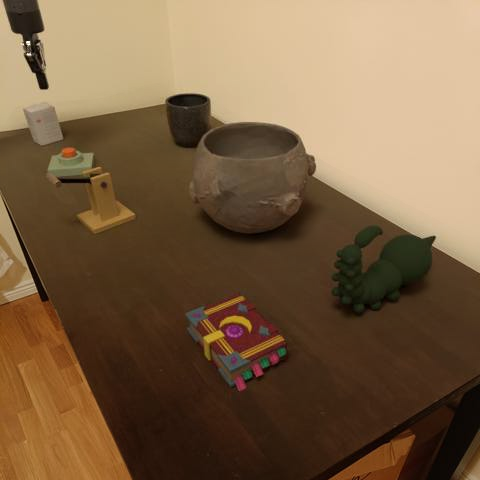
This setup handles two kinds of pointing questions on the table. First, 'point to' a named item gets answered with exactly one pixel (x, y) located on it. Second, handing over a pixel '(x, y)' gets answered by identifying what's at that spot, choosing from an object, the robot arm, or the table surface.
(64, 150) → the button
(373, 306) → the toy figurine
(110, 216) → the wooden lever stand
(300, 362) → the table surface
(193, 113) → the planter
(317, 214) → the table surface
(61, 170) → the switch block
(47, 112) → the small box
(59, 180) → the switch lever
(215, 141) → the bowl
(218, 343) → the decorative book
